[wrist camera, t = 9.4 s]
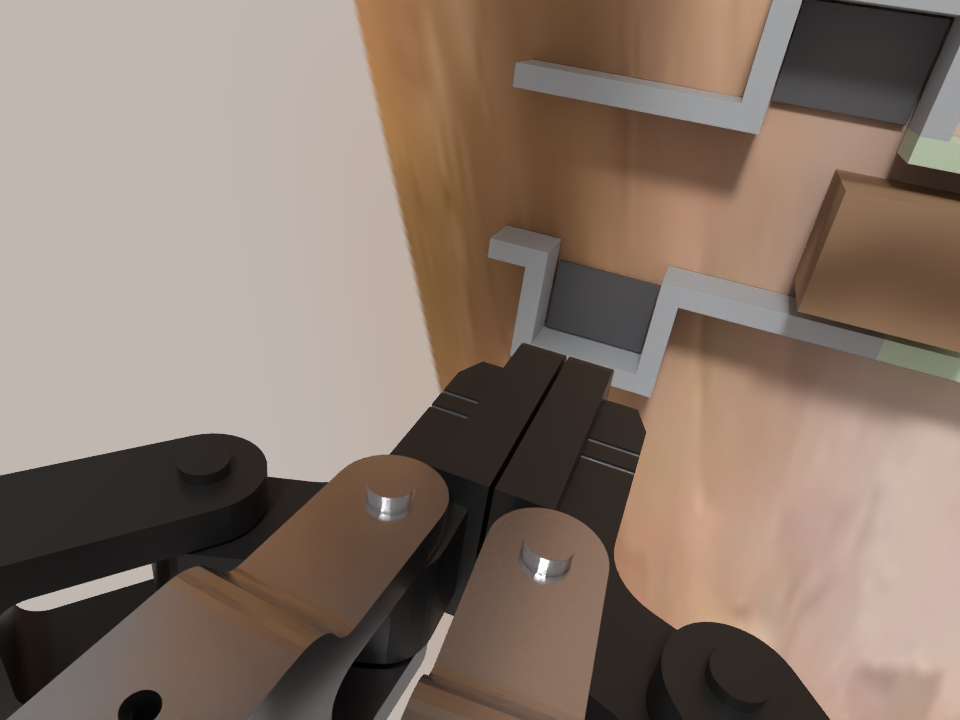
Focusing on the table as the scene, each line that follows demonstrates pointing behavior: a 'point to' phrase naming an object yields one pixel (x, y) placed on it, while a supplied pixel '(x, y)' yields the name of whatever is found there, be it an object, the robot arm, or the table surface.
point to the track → (802, 81)
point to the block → (885, 260)
